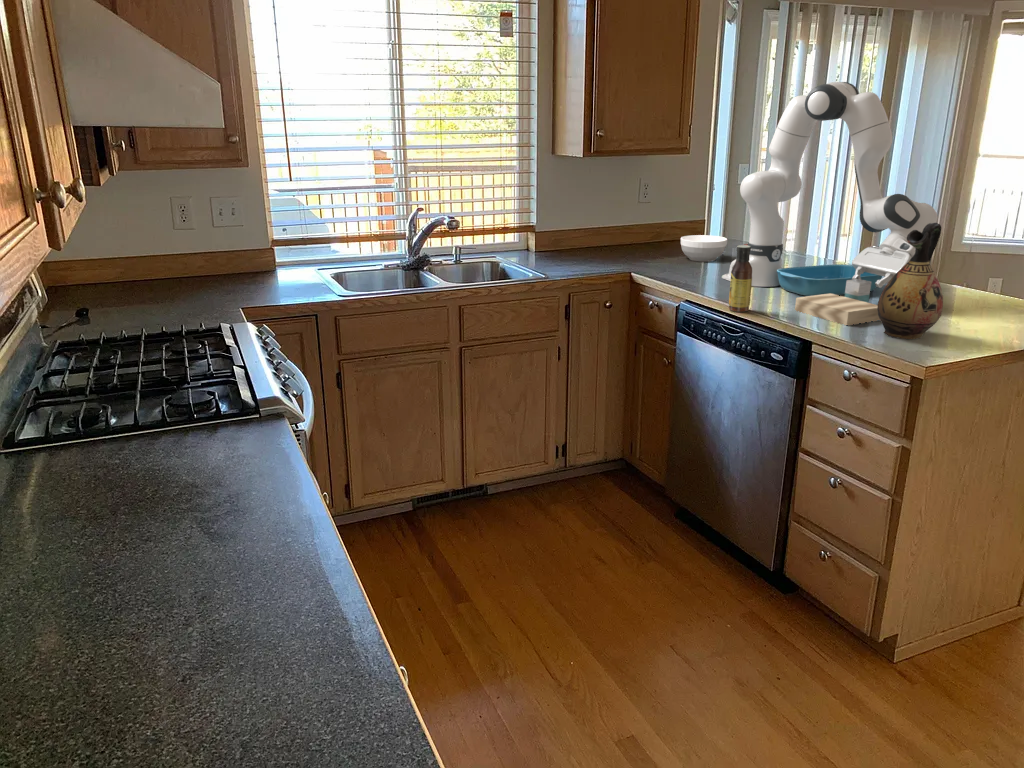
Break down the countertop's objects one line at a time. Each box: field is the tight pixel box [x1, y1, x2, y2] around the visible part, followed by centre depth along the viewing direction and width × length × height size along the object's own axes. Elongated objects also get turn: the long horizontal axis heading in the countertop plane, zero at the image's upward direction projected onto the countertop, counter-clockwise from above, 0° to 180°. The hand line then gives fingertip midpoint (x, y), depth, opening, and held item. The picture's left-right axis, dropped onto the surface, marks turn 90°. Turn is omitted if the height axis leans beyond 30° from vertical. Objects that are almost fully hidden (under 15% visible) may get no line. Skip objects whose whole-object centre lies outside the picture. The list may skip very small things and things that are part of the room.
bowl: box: [680, 234, 728, 263], centre depth 315 cm, size 19×19×9 cm
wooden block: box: [794, 293, 880, 326], centre depth 225 cm, size 20×14×4 cm
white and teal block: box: [843, 279, 871, 303], centre depth 235 cm, size 5×5×8 cm
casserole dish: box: [777, 263, 883, 297], centre depth 257 cm, size 37×22×7 cm, turn 110°
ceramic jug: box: [877, 222, 944, 340], centre depth 200 cm, size 17×15×30 cm
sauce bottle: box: [728, 244, 752, 313], centre depth 229 cm, size 7×6×20 cm
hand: (865, 283), depth 234 cm, fingers open, 8 cm apart
